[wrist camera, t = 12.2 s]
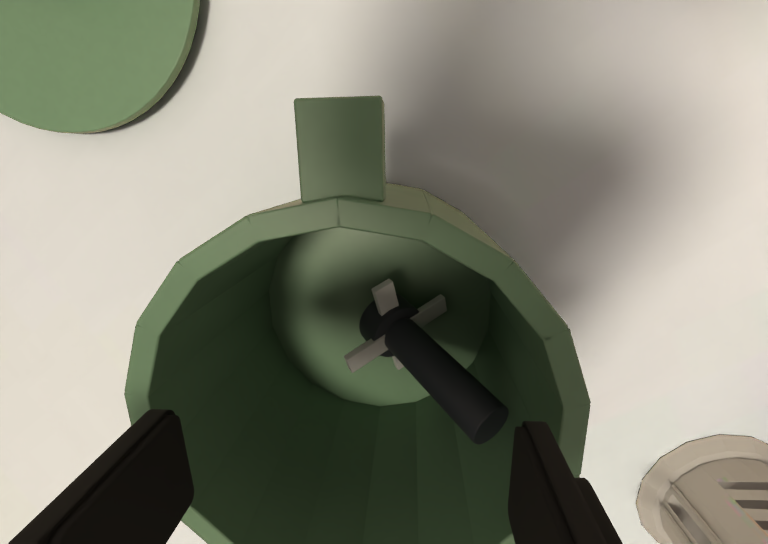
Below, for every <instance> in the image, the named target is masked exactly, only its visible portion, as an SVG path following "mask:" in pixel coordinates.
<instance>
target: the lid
mask: <svg viewBox="0 0 768 544" xmlns="http://www.w3.org/2000/svg"><path fill="white" fill-rule="evenodd" d="M199 7H200V0H0V113H2V114H4V115H6V116H8V117H10V118H12V119H14V120H16V121H18V122H21V123H24V124H27V125H30V126H33V127H36V128H39V129H44V130H49V131H54V132H62V133H80V134H84V133H94V132H101V131H105V130H109V129H113V128H117V127H119V126H121V125H123V124H126V123H128V122H130V121H132V120H134V119H135V118H137V117H139V116H140V115H142V114H143V113H145V112H146V111H148V110H149V109H150V108H151V107H152V106H153V105H154V104H155V103H157V102H158V101H159V100H160V99H161V98H162V97H163V95H164V94H165V93H166V92H167V90H168V89H169V88H170V87H171V86H172V84H173V83H174V81H175V79H176V78H177V76H178V74H179V73H180V71H181V69H182V68H183V65H184V63H185V61H186V58H187V56H188V54H189V51H190V49H191V45H192V42H193V38H194V35H195V31H196V27H197V20H198V14H199Z"/></svg>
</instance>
